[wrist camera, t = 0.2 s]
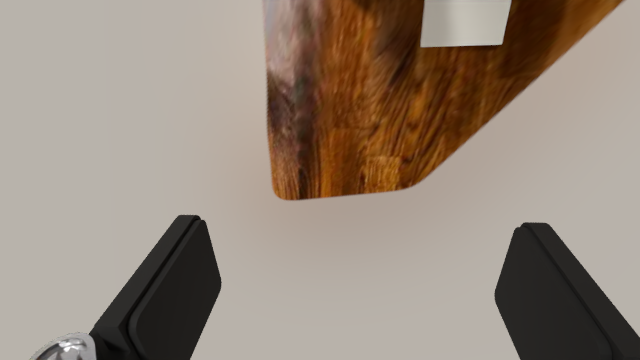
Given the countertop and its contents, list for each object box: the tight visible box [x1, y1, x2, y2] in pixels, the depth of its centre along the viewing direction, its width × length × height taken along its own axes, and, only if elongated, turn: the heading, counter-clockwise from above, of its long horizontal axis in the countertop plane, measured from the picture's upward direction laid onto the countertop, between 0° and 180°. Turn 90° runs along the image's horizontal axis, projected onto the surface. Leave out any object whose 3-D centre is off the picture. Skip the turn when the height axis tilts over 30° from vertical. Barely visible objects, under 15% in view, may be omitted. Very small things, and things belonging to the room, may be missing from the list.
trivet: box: [420, 0, 511, 47], centre depth 32 cm, size 8×8×1 cm
